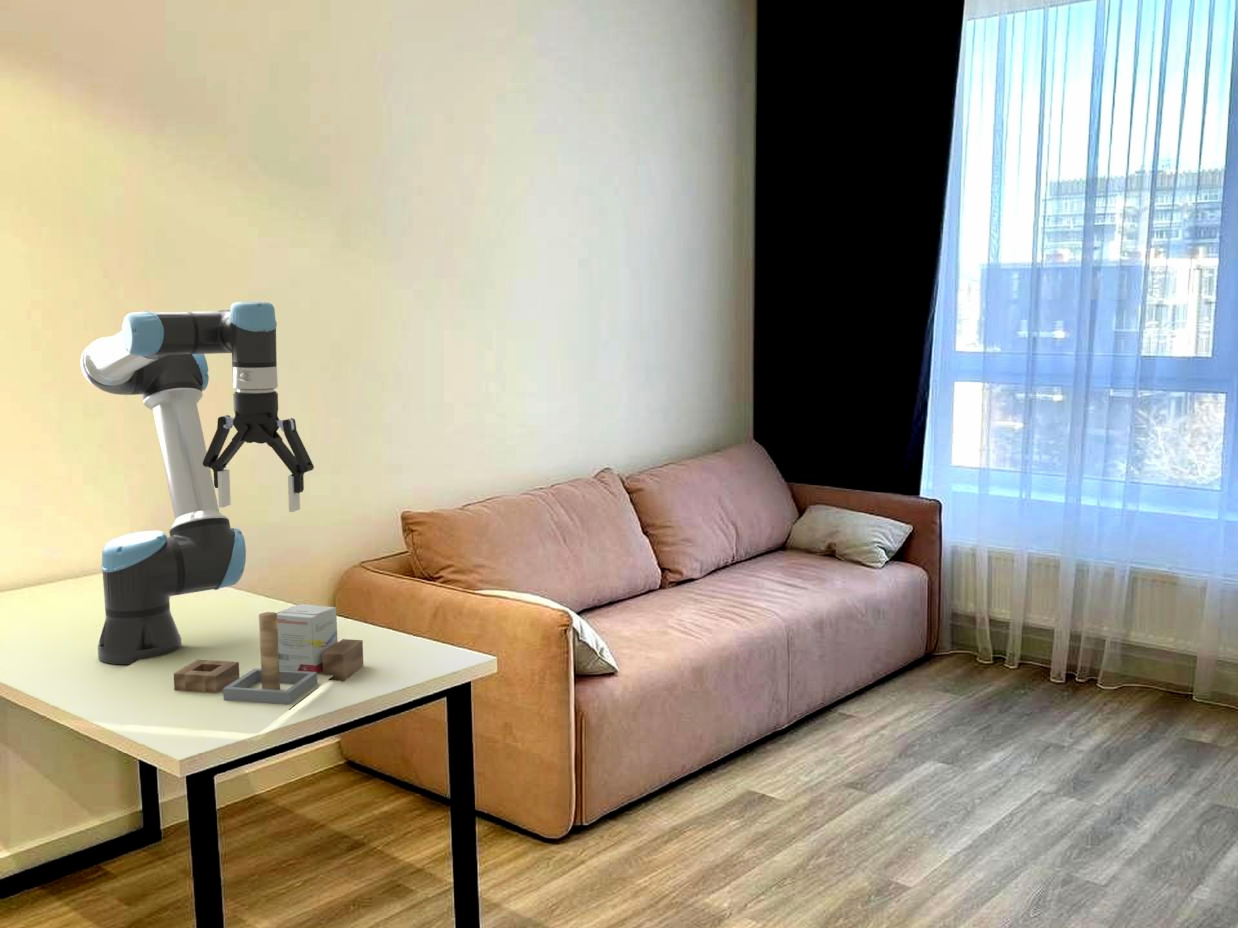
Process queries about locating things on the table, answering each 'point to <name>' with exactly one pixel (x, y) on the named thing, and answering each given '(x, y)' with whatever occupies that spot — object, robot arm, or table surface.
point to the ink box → (305, 636)
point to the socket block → (206, 676)
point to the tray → (243, 693)
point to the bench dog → (343, 659)
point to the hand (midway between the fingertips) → (259, 508)
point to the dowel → (269, 651)
